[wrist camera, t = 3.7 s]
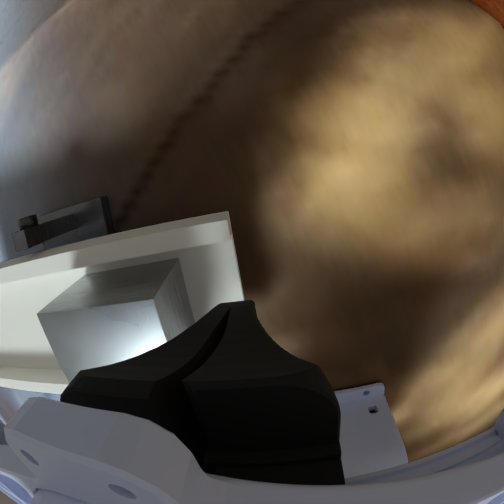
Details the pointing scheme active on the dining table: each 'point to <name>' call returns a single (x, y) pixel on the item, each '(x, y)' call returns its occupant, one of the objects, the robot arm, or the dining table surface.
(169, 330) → the block
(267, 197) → the dining table surface
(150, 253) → the balance beam
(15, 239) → the beam stand
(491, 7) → the kendama
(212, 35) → the dining table surface
